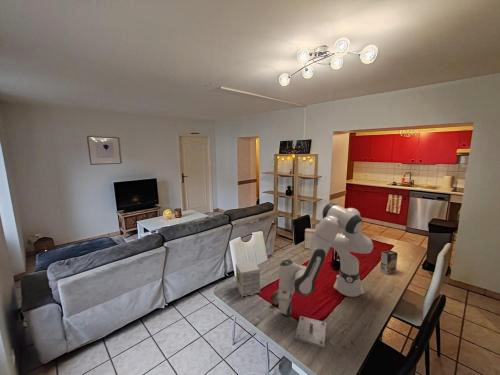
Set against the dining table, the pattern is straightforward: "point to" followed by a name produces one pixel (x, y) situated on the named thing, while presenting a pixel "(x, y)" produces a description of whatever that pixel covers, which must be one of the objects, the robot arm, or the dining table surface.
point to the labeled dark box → (289, 310)
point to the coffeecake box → (308, 237)
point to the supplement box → (248, 278)
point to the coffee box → (388, 262)
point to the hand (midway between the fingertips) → (286, 309)
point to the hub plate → (311, 331)
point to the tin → (275, 297)
